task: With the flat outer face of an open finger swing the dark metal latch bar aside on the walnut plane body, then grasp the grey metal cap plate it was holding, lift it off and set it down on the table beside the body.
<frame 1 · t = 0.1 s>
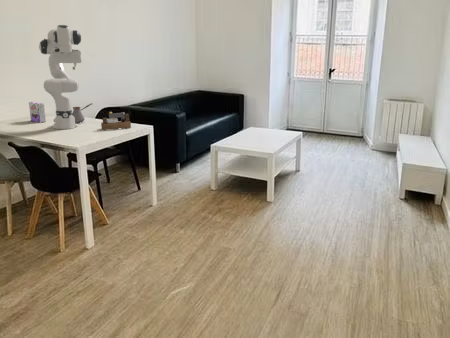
hand: (67, 69, 290), 48 cm above the table, fingers open, 8 cm apart
cap: (112, 122, 328), point 5 cm above the table, touching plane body
coffee pot: (83, 121, 355), on the table
candy box: (38, 121, 350), on the table
lever: (117, 116, 329), point 9 cm above the table, hinge at 0.0°
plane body: (116, 128, 331), on the table
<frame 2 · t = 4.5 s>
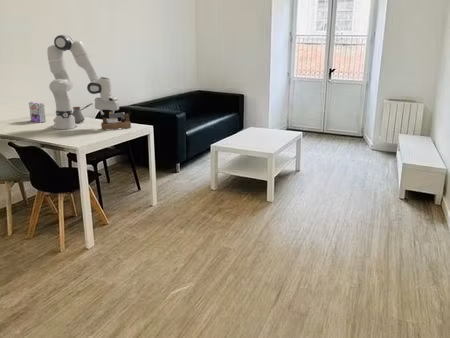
hand: (107, 115, 330), 10 cm above the table, fingers open, 7 cm apart
lever: (117, 116, 329), point 9 cm above the table, hinge at 0.2°, touching gripper
everything else where it was.
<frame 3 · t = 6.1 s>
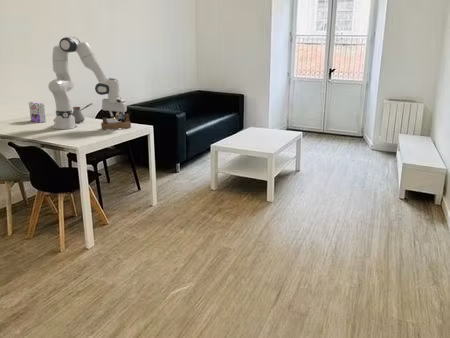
hand: (114, 116, 326), 10 cm above the table, fingers open, 3 cm apart
lever: (120, 117, 327), point 9 cm above the table, hinge at 48.0°, touching gripper
everything else where it was.
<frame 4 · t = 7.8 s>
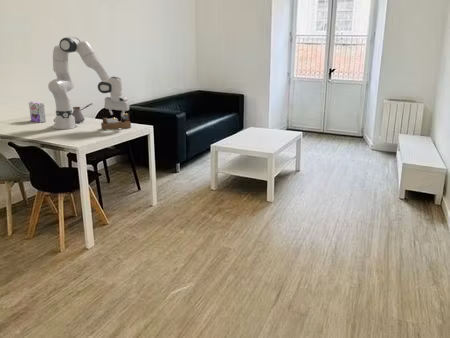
hand: (117, 115, 324), 11 cm above the table, fingers open, 8 cm apart
lever: (124, 117, 327), point 9 cm above the table, hinge at 87.3°, touching gripper
everything else where it was.
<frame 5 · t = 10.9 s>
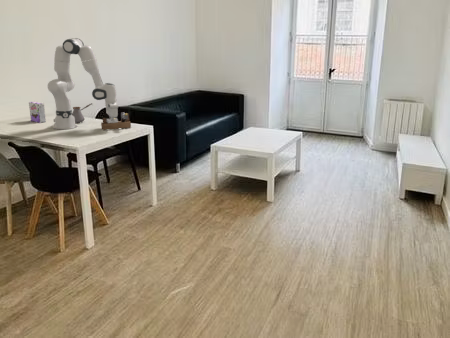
hand: (112, 121, 328), 6 cm above the table, fingers closed on cap, 4 cm apart
cap: (112, 122, 328), point 5 cm above the table, touching gripper, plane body
lever: (124, 117, 327), point 9 cm above the table, hinge at 87.3°
everything else where it was.
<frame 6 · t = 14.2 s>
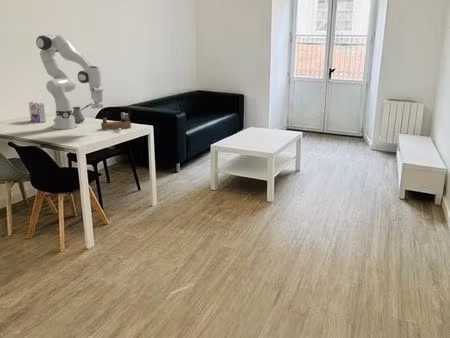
hand: (97, 106, 311), 20 cm above the table, fingers closed on cap, 4 cm apart
cap: (97, 108, 311), point 19 cm above the table, touching gripper
everything else where it was.
when the fingers open (3 cm above the table, at t = 17.5 s): cap drops 2 cm, on the table.
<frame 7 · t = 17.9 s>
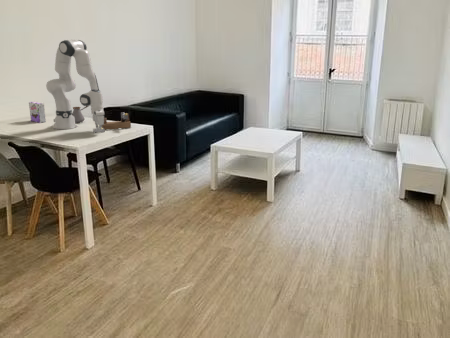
hand: (98, 128, 316), 3 cm above the table, fingers open, 8 cm apart
cap: (98, 132, 317), on the table
everything else where it was.
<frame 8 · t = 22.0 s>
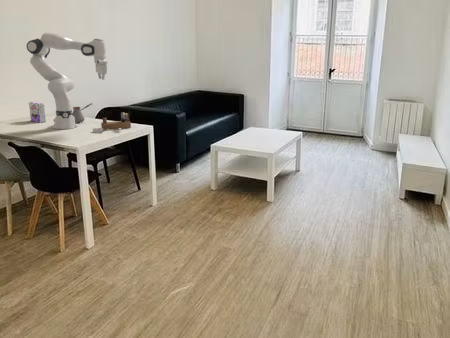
hand: (101, 79, 320), 39 cm above the table, fingers open, 8 cm apart
at the end: lever at +87° (first picture: +0°); cap inside the target area (0.2 cm from its centre), on the table; the gripper is holding nothing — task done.
